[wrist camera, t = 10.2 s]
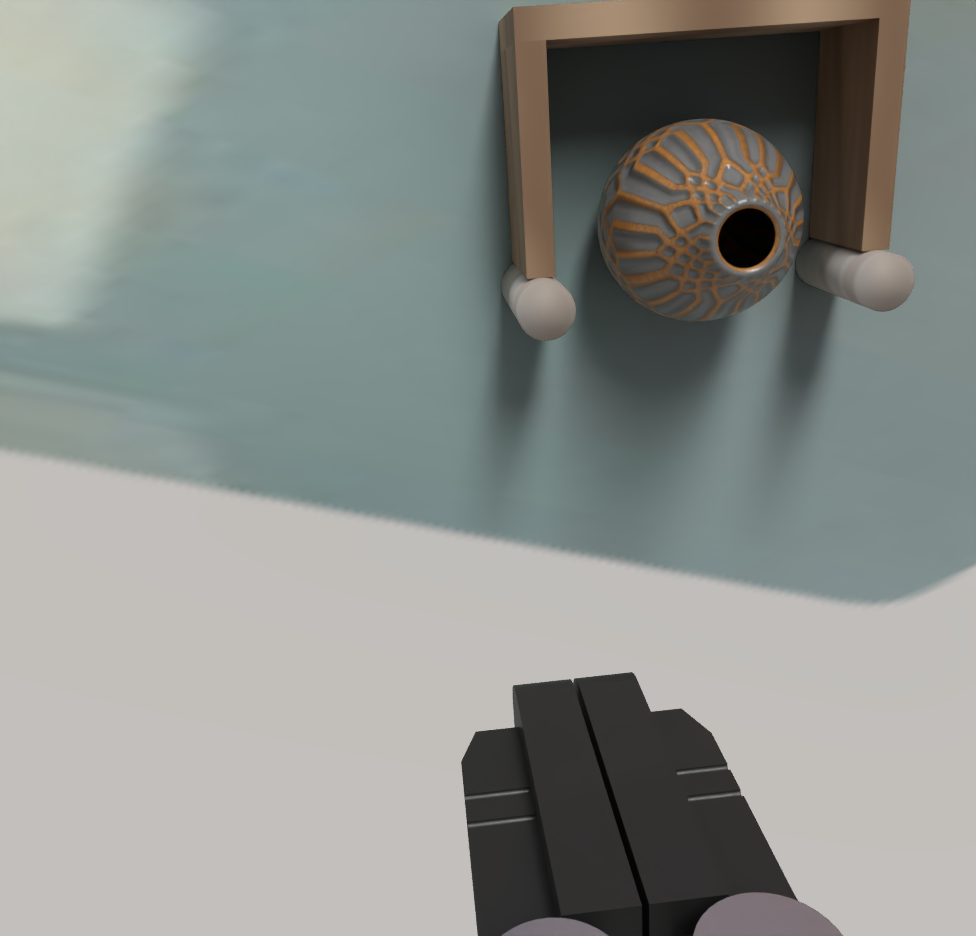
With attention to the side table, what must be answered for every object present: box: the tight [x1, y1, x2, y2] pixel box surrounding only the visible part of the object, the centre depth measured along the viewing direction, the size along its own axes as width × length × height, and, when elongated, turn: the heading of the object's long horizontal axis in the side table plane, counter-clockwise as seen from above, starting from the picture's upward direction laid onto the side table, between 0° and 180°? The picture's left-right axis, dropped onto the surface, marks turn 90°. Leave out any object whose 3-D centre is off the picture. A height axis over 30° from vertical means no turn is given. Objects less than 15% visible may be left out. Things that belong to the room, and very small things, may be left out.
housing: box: [499, 0, 915, 341], centre depth 33 cm, size 14×10×6 cm
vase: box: [598, 119, 804, 322], centre depth 32 cm, size 7×7×9 cm
